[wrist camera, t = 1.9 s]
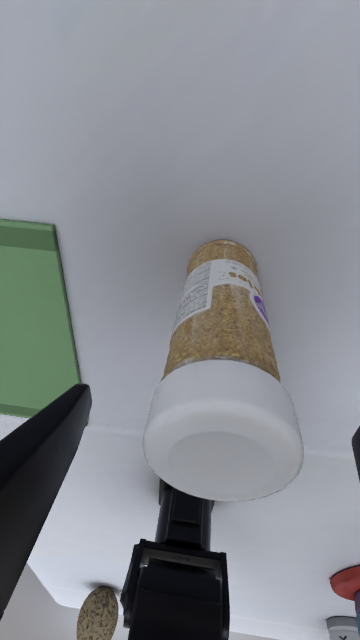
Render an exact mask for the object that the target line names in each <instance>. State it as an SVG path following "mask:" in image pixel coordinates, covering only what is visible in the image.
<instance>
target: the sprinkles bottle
mask: <svg viewBox="0 0 360 640" xmlns="http://www.w3.org/2000/svg"><path fill="white" fill-rule="evenodd" d="M187 273H188V274H187V280H186V282H185V284H184V287H183V291H182V295H181V299H180V303H179V307H178V311H177V316H176V320H175V324H174V328H173V332H172V336H171V340H170V350H169V354H168V358H167V363H166V367H165V370H164V376H163V378H162V379H161V381H160V383H159V385H158V386H157V388H156V390H155V392H154V395H153V398H152V402H151V406H150V410H149V414H148V419H147V423H146V427H145V431H144V436H143V451H144V455H145V458H146V460H147V462H148V464H149V465H150V467H151V468H152V470H153V471H154V472H155V473H156V474H157V475H158V476H159V477H160V478H161V479H162V480H164V481H165V482H166V483H168V484H169V485H171V486H173V487H174V488H176V489H178V490H180V491H183V492H185V493H187V494H190V495H193V496H196V497H200V498H204V499H209V500H215V501H246V500H254V499H258V498H262V497H265V496H268V495H271V494H273V493H275V492H278V491H279V490H281V489H283V488H284V487H286V486H287V485H288V484H290V483H291V482H292V481H293V480H294V479H295V477H296V476H297V475H298V473H299V471H300V469H301V467H302V464H303V458H304V448H303V443H302V437H301V433H300V429H299V425H298V420H297V416H296V413H295V409H294V405H293V402H292V399H291V397H290V395H289V393H288V392H287V390H286V389H285V387H284V386H283V385H282V384H281V382H280V376H279V372H278V369H277V363H276V359H275V355H274V350H273V347H272V342H271V331H270V327H269V323H268V319H267V315H266V311H265V307H264V302H263V297H262V292H261V288H260V284H259V281H258V279H257V266H256V262H255V260H254V258H253V256H252V254H251V253H250V252H249V251H248V250H247V249H246V248H245V247H244V246H242V245H240V244H238V243H236V242H233V241H229V240H218V241H212V242H210V243H207V244H205V245H203V246H201V247H200V248H199V249H198V250H197V251H196V252H195V253H194V254H193V256H192V257H191V259H190V261H189V264H188V268H187Z"/></svg>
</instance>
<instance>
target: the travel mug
mask: <svg viewBox="0 0 360 640" xmlns="http://www.w3.org/2000/svg"><path fill="white" fill-rule="evenodd" d="M327 627H328V632H329V634H330V635H329V636H330V640H360V637H359V634H358V628H357V622H356V618H351V617H332V618H329V619H328V620H327Z"/></svg>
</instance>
